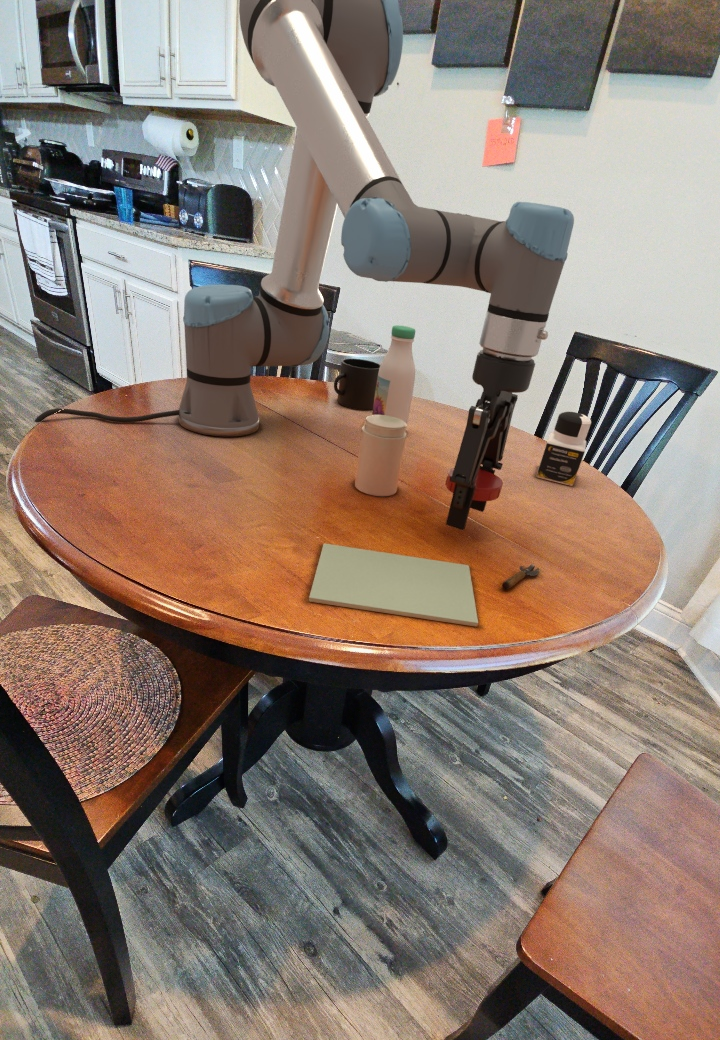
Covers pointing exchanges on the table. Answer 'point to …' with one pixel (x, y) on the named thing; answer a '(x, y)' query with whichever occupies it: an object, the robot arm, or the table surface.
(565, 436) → the medicine bottle
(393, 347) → the milk bottle
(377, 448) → the jar
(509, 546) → the table surface
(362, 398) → the mug
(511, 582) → the can opener
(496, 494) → the lid
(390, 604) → the mat
